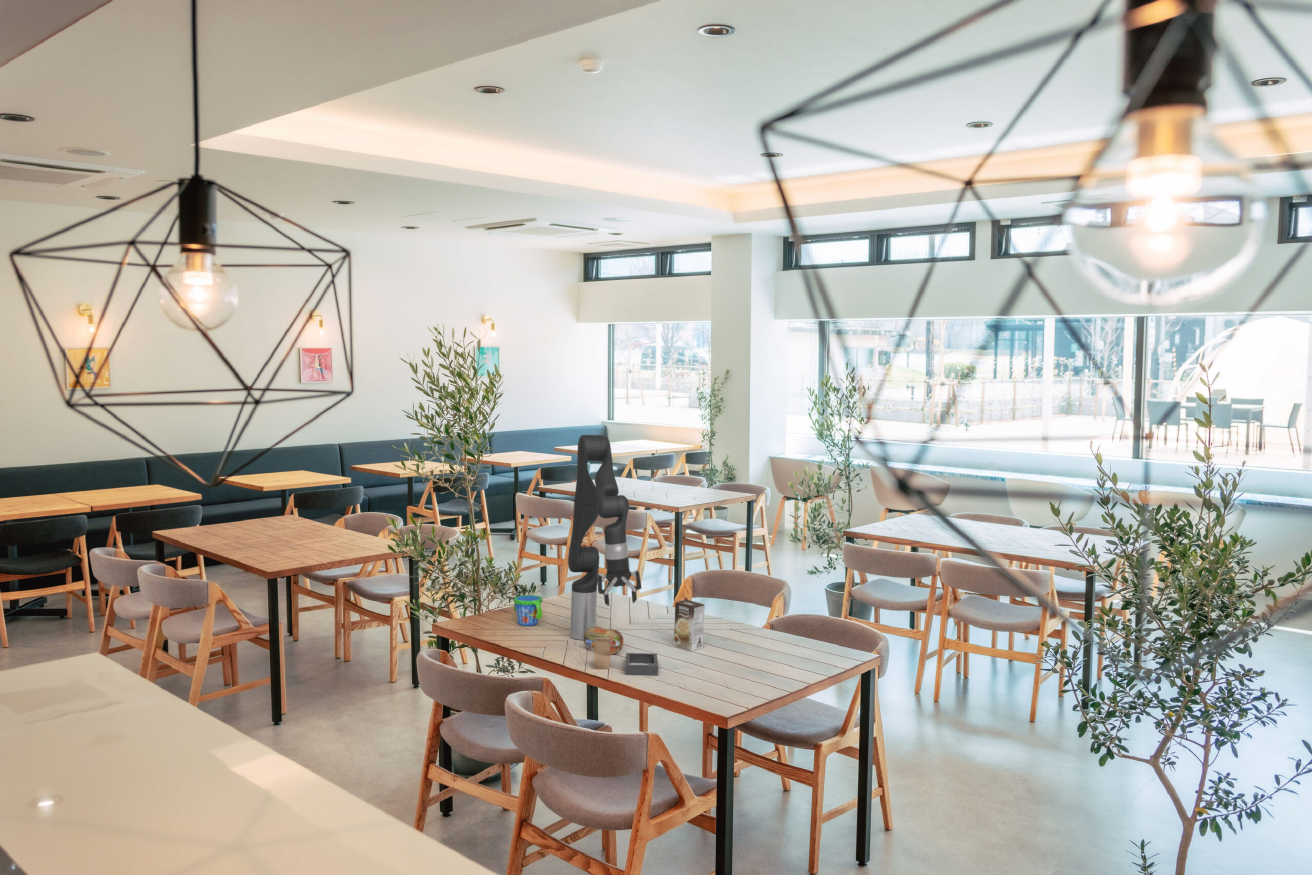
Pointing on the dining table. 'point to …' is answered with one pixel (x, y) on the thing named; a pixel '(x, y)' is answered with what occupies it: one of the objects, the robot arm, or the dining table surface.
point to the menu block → (602, 653)
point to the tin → (599, 632)
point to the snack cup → (528, 609)
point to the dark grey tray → (641, 668)
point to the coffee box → (689, 625)
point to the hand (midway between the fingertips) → (620, 603)
